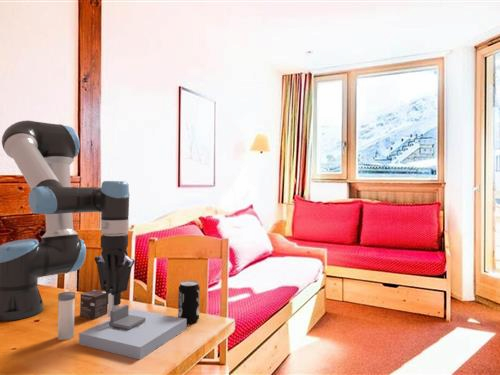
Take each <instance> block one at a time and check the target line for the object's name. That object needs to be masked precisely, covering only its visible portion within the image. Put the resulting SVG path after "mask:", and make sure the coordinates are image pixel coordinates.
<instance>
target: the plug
mask: <svg viewBox="0 0 500 375" xmlns="http://www.w3.org/2000/svg"><path fill="white" fill-rule="evenodd" d="M75 298H76V292H74V291H63V292H60V293H58V294H57V299H58V301H57V302H58V308H57V312H58V313H57V340H58V341H68V340H70V339H73V338H74V337H75Z"/></svg>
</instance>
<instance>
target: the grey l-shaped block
mask: <svg viewBox="0 0 500 375" xmlns="http://www.w3.org/2000/svg"><path fill="white" fill-rule="evenodd" d="M129 307H130V306H129V305H128V304H123V305H122V306H119V308H116V309H114V310H112V311H110V317H109V318H110V322H109V325H111V326H116V327H120V328H125V329H130V328H132V327H134V326H136V325H138V324H140V323H142V322H144V321H146V318H144V317H138V316H133V315H128V311H129V310H130V309H129Z"/></svg>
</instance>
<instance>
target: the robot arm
mask: <svg viewBox="0 0 500 375" xmlns="http://www.w3.org/2000/svg"><path fill="white" fill-rule="evenodd" d="M80 143H81V142H80V137H79V135H78V133H77V131H76V130H75V129H74V128H73V127H71V126H69V125H64V124H60V123H59V124H56V123H50V122H49V123H48V122H43V121H34V120H29V119H28V120H21V121H17V122H15V123H13V124H11V125H10V126H8V127H7V128H6V129H5V131H4V132H3V135H2V137H1V146H2V149H3V151H4V152H5V154H6V155H7V156H8V157H9V158H11V159H13V160H14V162H15V164H16V166H17V168H18V169H19V171H20V173H21V174H22V176H23V177H24V178H23V179H24V180H25V181H26V183H27V185H28V187H29V188H30V191H29V193H28V204H29V210H30V211H31V213H33V214H36V215H44V216H45V230H46V231H45V233H44V234H43V235H42V236H41V242H39V240H38V239H37V238H26V239H25V238H24V239H18V240H12V241H8V242H5V243H3V244H0V322H3V321H4V322H5V321H8V322H9V321H16V320H22V319H26V318H30V317H33V316H36V315H39V314H40V313H42V312H43V311H44V301H43V299H42V298H43V297H42V296H41V295H42V294H41V293H40V290H39V287H38V280H39V278H43V277H49V276H50V277H51V276H55V275H61V274H69V273H72V272H76V271H78V270H79V269H81V268H82V266H83V264H84V263H85V260H86V256H87V247H86V244H85V241H84V240H83V239H82V238H79V233H78V232H77V231H76V230H74V219H73V214H77V213H81V214H82V213H100V233H101V234H102V235H101V236H100V249H102V250H101V252H100V255H99V256H94V261H95V264H96V267H97V274H98V280H99V284H100V291H104V292H106V293H107V304H108V311H107V317H108V318H110V311H112V310H114V309H116V308H119V307H120V305H121V302H122V301H121V300H122V296H121V295H122V293H123V292H126V291H127V290H128V286H129V281H130V278H131V272H132V268H133V266H134V264H135V259H134V258H132V259H131V258H130V257H129V256H128V255H129V254H128V250H127V248H128V247H129V235H128V233H129V216H130V212H129V209H130V189H129V187H130V186H129V183H128V182H127V181H124V180H120V181H119V180H103V181H102V183H101V187H99V186H90V187H89V186H87V187H86V186H85V187H83V186H81V187H80V186H79V187H78V186H77V187H76V186H75V187H74V186H72V183H71V182H72V181H71V168H70V167H71V166H70V165H71V164H72V163H74V161H75V160H74V159H75V158H76V157H78V155H79V153H80V148H81V144H80Z"/></svg>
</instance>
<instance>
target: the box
mask: <svg viewBox="0 0 500 375" xmlns="http://www.w3.org/2000/svg"><path fill="white" fill-rule="evenodd" d="M79 307H80V308H79V311H80V313H79V317H82V318H85V319H90V320H96V319H98V318H101V317H103V316H106V315H108V304H107V293H106V291H104V290H101V289H100V290H99V289H92V290H90V291H89V290H88V291H87V292H82V293H81V294H80V306H79Z"/></svg>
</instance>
